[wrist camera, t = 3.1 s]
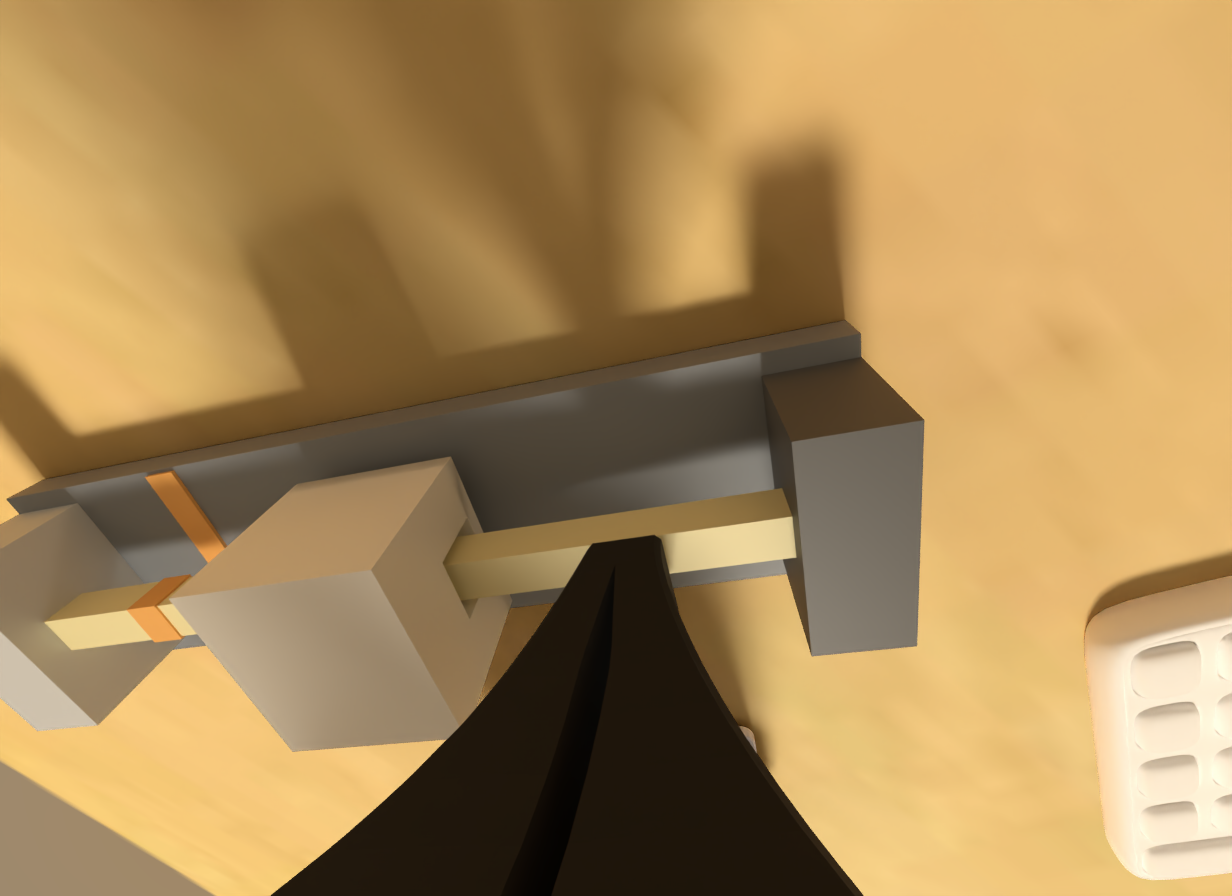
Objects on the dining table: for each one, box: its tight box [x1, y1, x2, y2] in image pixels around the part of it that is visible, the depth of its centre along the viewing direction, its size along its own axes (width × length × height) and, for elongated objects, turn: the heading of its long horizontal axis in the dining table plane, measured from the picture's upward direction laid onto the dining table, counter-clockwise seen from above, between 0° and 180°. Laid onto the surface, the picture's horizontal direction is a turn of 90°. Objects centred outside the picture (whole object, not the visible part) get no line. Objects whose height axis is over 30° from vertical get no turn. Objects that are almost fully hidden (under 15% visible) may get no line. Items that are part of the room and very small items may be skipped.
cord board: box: [0, 320, 924, 731], centre depth 13 cm, size 22×6×4 cm, turn 103°
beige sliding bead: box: [169, 457, 512, 752], centre depth 12 cm, size 4×4×4 cm
